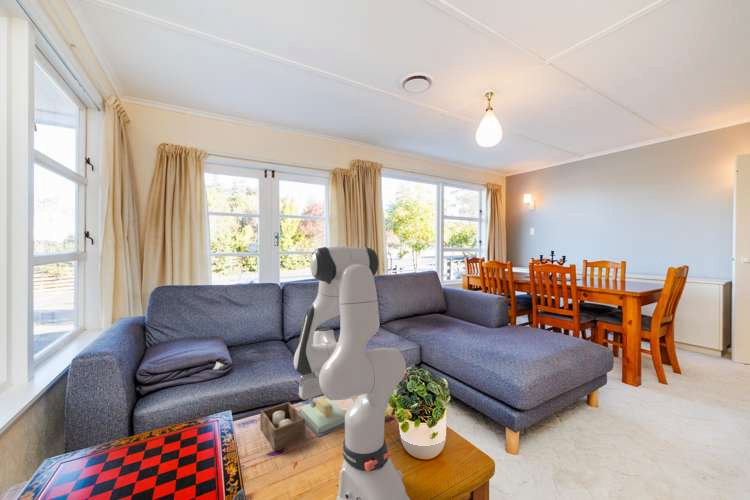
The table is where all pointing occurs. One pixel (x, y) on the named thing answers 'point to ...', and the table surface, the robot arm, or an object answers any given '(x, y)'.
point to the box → (282, 425)
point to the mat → (323, 431)
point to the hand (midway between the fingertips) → (323, 403)
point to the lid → (323, 414)
